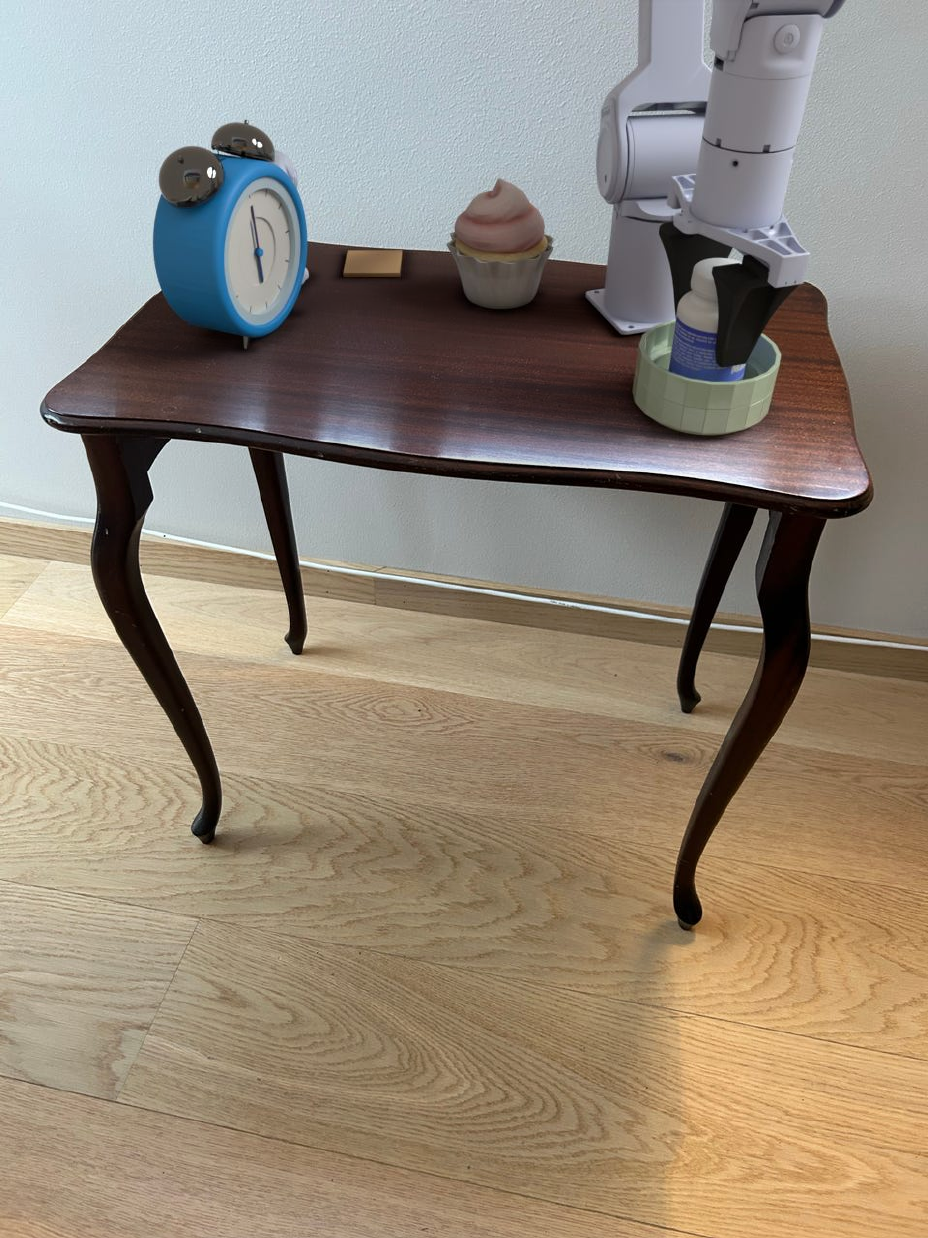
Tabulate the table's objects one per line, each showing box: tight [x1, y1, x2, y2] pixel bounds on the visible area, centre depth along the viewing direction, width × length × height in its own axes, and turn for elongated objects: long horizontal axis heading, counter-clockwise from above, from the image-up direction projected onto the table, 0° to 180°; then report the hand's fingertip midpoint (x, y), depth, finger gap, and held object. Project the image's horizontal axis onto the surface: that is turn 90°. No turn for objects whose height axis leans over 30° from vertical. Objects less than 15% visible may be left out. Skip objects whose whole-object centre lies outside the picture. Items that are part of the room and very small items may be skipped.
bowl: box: [632, 320, 782, 436], centre depth 70 cm, size 10×10×4 cm
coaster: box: [342, 249, 403, 278], centre depth 90 cm, size 5×5×1 cm
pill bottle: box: [668, 257, 746, 382], centre depth 68 cm, size 5×5×10 cm
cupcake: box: [446, 177, 555, 310], centre depth 81 cm, size 9×9×10 cm
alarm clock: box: [152, 119, 308, 350], centre depth 75 cm, size 13×6×15 cm, turn 156°
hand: (710, 343), depth 68 cm, fingers closed on pill bottle, 5 cm apart
